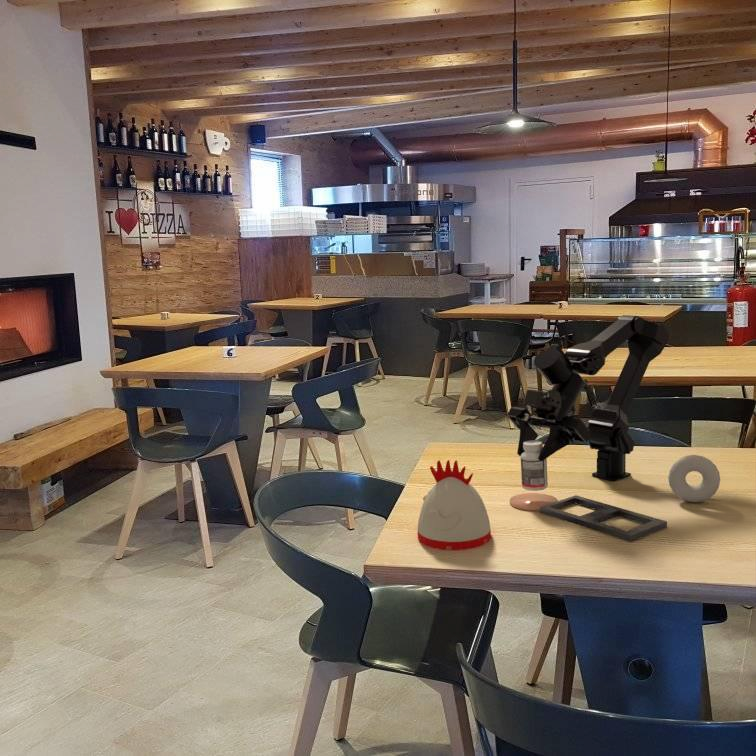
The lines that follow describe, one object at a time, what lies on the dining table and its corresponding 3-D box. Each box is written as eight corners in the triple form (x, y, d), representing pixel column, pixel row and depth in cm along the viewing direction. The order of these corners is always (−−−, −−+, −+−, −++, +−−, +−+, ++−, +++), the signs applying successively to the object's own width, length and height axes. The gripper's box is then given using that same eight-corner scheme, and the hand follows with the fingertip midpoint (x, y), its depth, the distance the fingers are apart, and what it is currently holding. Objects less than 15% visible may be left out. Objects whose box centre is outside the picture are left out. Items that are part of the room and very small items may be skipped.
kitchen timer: (430, 521, 161) (428, 449, 158) (498, 527, 156) (496, 452, 153) (408, 546, 148) (404, 468, 146) (480, 553, 143) (478, 473, 141)
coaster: (532, 492, 176) (532, 490, 176) (567, 503, 168) (567, 500, 168) (499, 502, 170) (499, 500, 170) (534, 514, 162) (534, 511, 162)
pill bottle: (527, 482, 172) (526, 438, 170) (551, 485, 169) (550, 440, 167) (517, 489, 168) (515, 444, 166) (541, 492, 165) (540, 446, 163)
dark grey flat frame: (575, 500, 169) (575, 495, 169) (667, 527, 151) (667, 521, 151) (540, 512, 163) (539, 506, 163) (630, 542, 145) (630, 535, 145)
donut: (718, 500, 165) (719, 453, 164) (720, 505, 162) (722, 458, 160) (667, 498, 168) (668, 452, 166) (668, 503, 165) (669, 456, 163)
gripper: (511, 370, 174) (476, 429, 169) (580, 379, 159) (545, 444, 155) (536, 399, 180) (503, 457, 175) (605, 411, 165) (572, 474, 161)
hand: (529, 457), depth 166 cm, fingers closed on pill bottle, 5 cm apart
